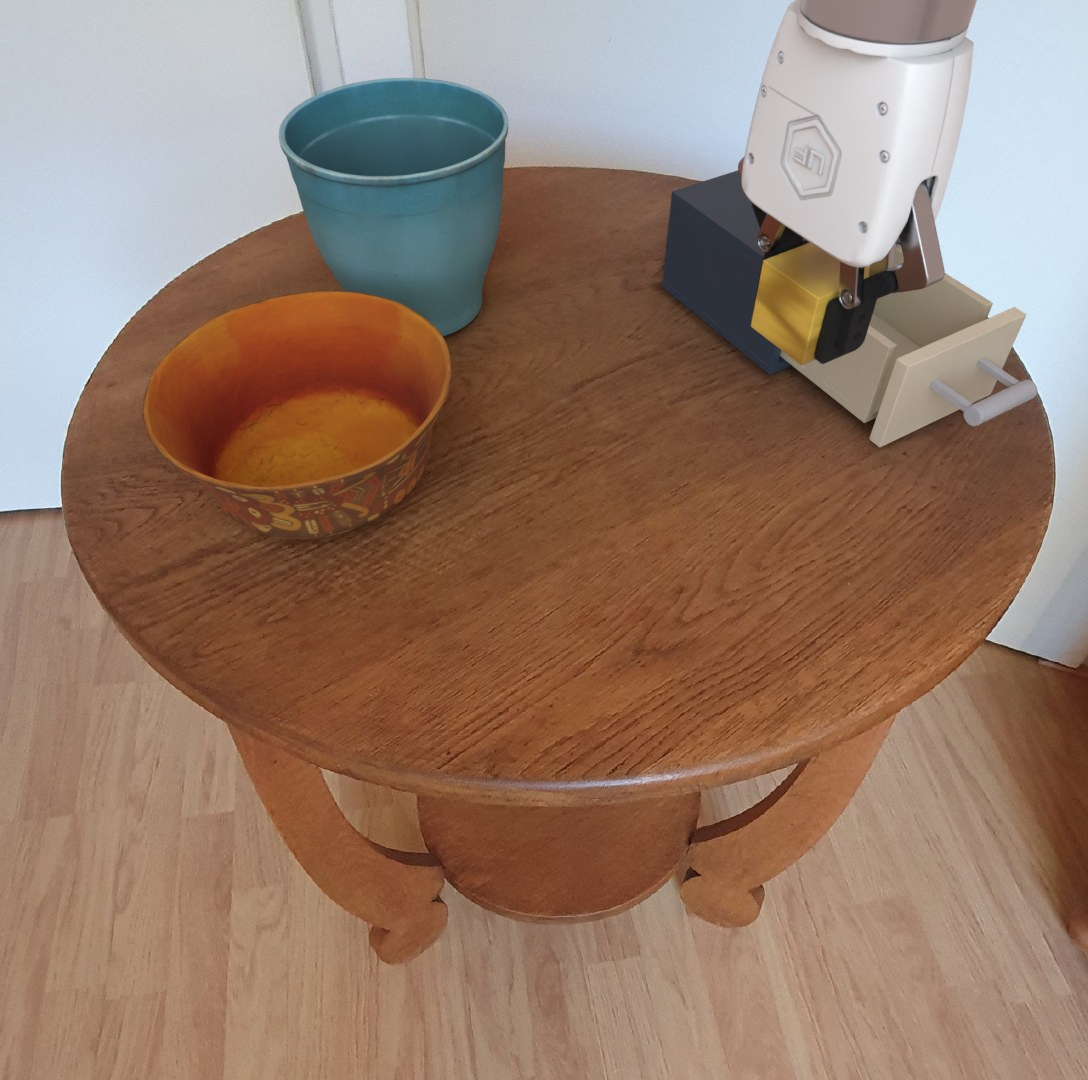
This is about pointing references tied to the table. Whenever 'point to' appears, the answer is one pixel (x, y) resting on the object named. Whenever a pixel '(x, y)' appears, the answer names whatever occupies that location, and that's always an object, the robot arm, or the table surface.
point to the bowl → (302, 409)
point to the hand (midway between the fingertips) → (805, 328)
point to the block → (796, 299)
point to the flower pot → (403, 189)
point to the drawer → (926, 361)
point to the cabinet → (719, 263)
